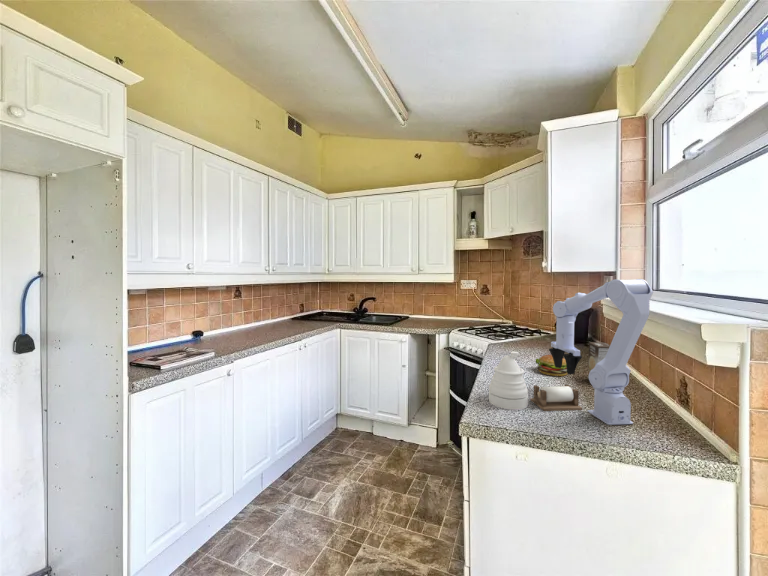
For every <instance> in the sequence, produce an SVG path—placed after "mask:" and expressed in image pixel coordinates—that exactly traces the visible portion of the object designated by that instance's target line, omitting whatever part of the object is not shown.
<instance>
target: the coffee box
mask: <svg viewBox="0 0 768 576" xmlns="http://www.w3.org/2000/svg"><path fill="white" fill-rule="evenodd" d="M610 345H611V344H609V343H606V342H601V341H600V342H598V341H597V342H596V341H595V342H594V341H590V342H588V363H587V364H588V369H587V379H588V380H589V372H590V371H591V370H592V369H593V368H594V367H595V365H596V364H597V363H598V362H600V361H601V360H603V359H604V358H605V356H606V354H607V352H608V349H609V347H610Z"/></svg>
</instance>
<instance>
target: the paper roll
mask: <svg viewBox="0 0 768 576" xmlns="http://www.w3.org/2000/svg"><path fill="white" fill-rule="evenodd" d="M541 390H545V391H546V402H570V401H572V400H573V398H574V395H573V391H572V390H573V388H571V386H570V387H569V386H563V385H562V386H541V387H539V392H538V393H537V395H538V397H539V398H540V391H541Z"/></svg>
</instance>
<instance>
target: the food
mask: <svg viewBox="0 0 768 576" xmlns="http://www.w3.org/2000/svg"><path fill="white" fill-rule="evenodd" d="M535 364H537V367H536V368H537V369H538V372H539V373H541V374H544V375H545V376H546V375H547V376H553V377H565V376H567V375H568V373H567V366H566V360H565V358H564V357H563V361H562V367H561V368H556V367H555V365H554V360H553V357H552V355H551V354H545V355H542V356H541V357H539V358H535Z"/></svg>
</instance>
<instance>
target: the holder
mask: <svg viewBox="0 0 768 576" xmlns="http://www.w3.org/2000/svg"><path fill="white" fill-rule="evenodd" d="M564 386H569V387H570V388H571V385H569V384H564ZM572 391H573V395H574V398H573V400H572V401H570V402H546V391H545V390H541V391H540V386H539V385H536V384H535V385H533V397H530V400H529V401H530V402H532V404H534V405H536V406H537V408H540V409H541V410H542V411H543V412H555V411H556V412H559V411H560V412H566V411H583V407H582V406H581V405H579V404H580V403H579V400H580V399H579V398H580V396H579V395H580V394H579V393H580V390H578V389H576V388H572ZM538 392H540V398H539V397H538V395H537V393H538Z"/></svg>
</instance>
